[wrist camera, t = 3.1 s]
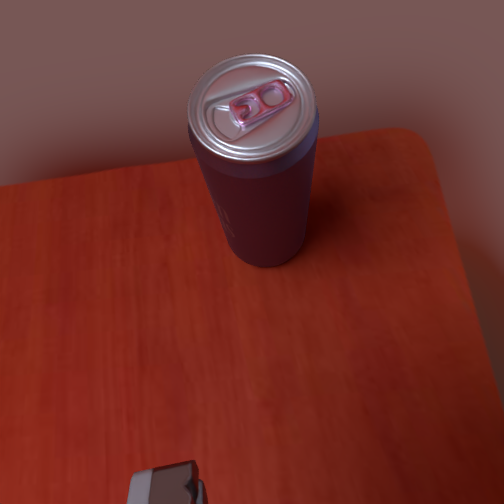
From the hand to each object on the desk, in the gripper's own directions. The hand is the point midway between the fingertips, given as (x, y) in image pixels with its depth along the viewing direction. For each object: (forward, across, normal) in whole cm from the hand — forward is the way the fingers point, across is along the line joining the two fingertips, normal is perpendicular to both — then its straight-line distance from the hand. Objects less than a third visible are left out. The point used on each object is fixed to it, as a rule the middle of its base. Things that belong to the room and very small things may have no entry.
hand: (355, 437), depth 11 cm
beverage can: (+22, 0, +3) cm, 23 cm away
